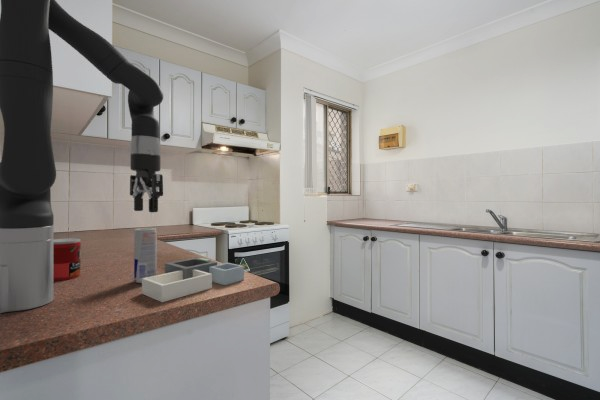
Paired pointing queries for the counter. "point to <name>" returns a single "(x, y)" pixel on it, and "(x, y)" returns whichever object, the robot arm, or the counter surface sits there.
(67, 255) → the canned food
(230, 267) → the blue-grey square bin
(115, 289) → the counter surface
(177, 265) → the dark grey square bin
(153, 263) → the upright juice carton
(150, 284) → the trough
